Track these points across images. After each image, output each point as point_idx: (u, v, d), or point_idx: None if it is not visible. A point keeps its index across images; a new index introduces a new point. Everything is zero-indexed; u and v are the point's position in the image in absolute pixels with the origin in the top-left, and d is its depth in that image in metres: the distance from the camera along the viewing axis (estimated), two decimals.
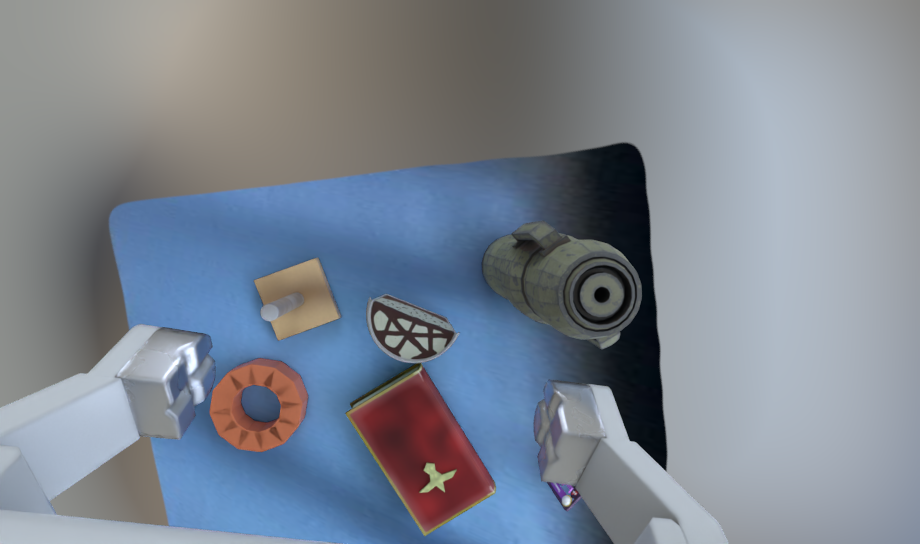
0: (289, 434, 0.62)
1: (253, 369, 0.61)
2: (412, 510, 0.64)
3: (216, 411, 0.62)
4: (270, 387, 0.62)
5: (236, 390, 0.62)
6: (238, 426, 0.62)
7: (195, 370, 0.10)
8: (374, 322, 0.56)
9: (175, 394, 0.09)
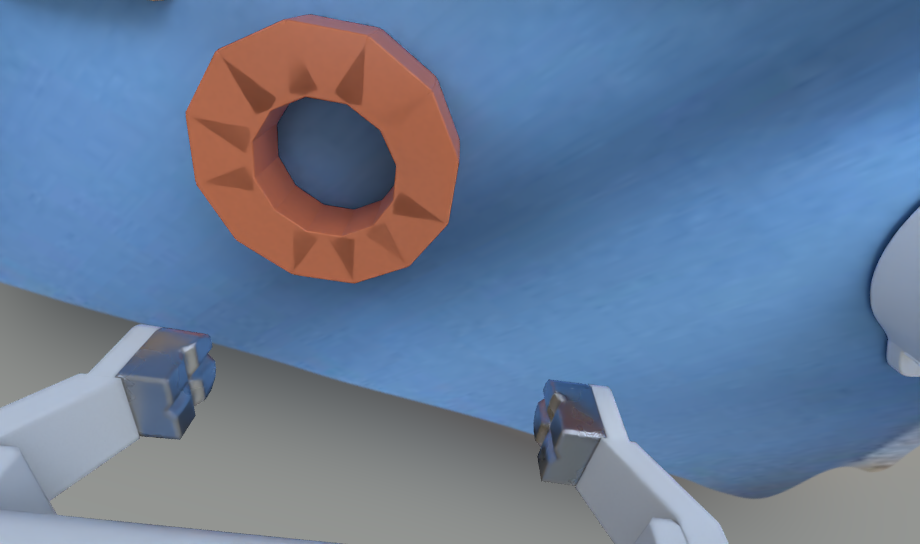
0: (442, 131, 0.20)
1: (204, 115, 0.20)
2: None
3: (294, 259, 0.23)
4: (276, 100, 0.19)
5: (254, 190, 0.21)
6: (353, 236, 0.23)
7: (194, 371, 0.10)
8: None
9: (175, 394, 0.09)
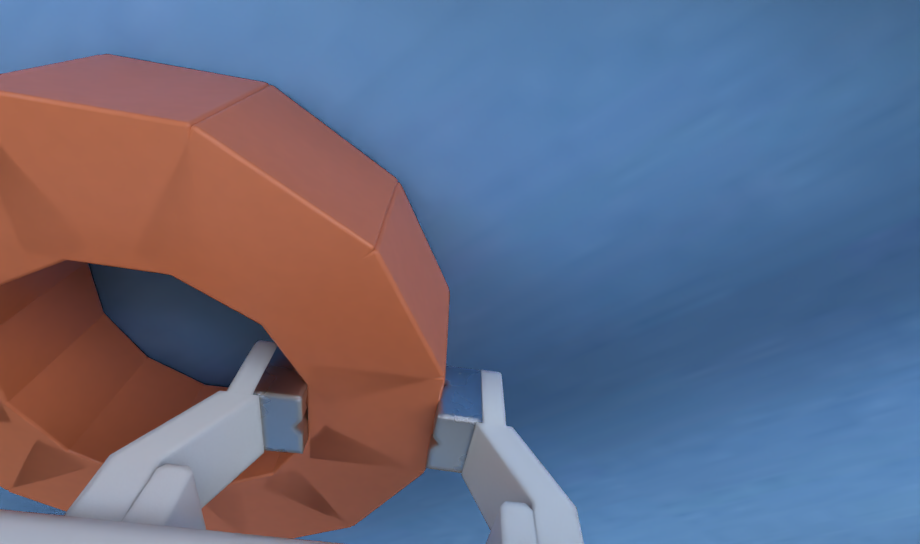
0: (404, 326, 0.09)
1: None
2: None
3: None
4: None
5: (11, 421, 0.10)
6: (238, 488, 0.11)
7: None
8: None
9: (304, 410, 0.09)
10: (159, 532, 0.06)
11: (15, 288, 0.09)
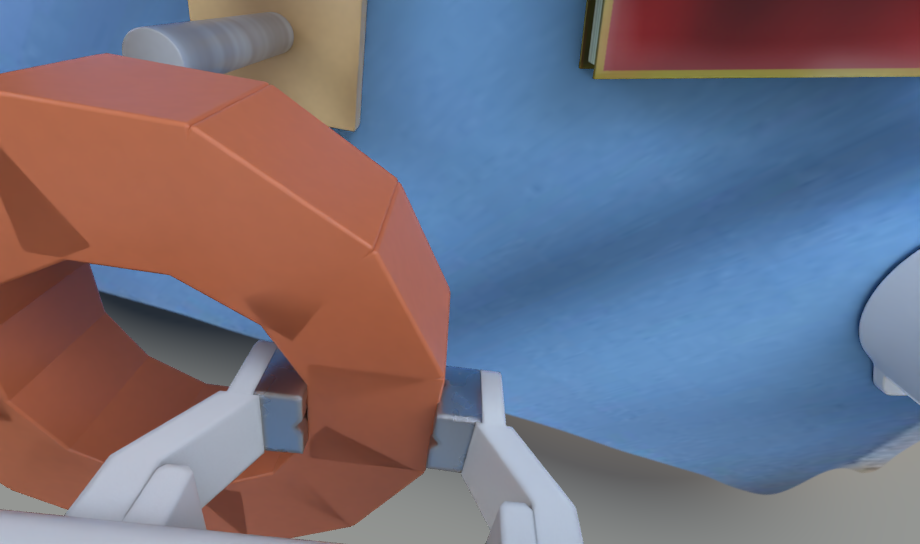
0: (403, 327, 0.08)
1: None
2: None
3: None
4: None
5: (13, 420, 0.10)
6: (238, 488, 0.11)
7: None
8: None
9: (304, 410, 0.09)
10: (159, 532, 0.06)
11: (16, 287, 0.09)
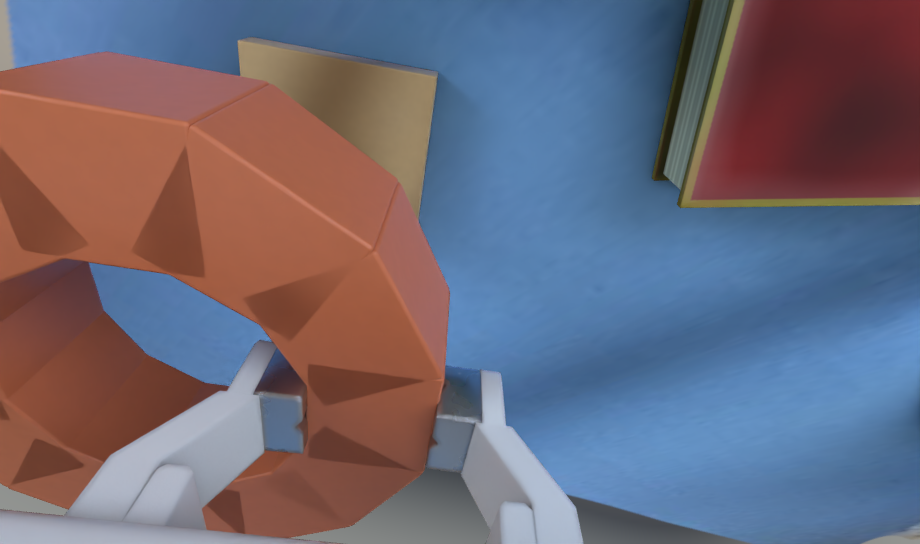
0: (403, 328, 0.08)
1: None
2: None
3: None
4: None
5: (11, 418, 0.10)
6: (236, 487, 0.11)
7: None
8: None
9: (304, 410, 0.09)
10: (159, 532, 0.06)
11: (14, 286, 0.09)
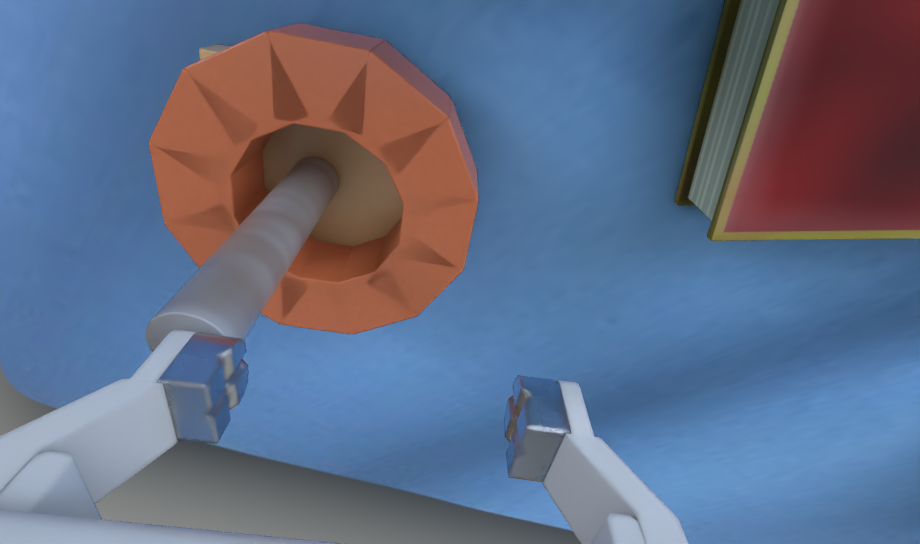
0: (459, 164, 0.16)
1: (171, 145, 0.16)
2: None
3: (283, 308, 0.20)
4: (258, 128, 0.16)
5: None
6: (352, 283, 0.19)
7: (231, 375, 0.10)
8: None
9: (214, 399, 0.09)
10: (159, 532, 0.06)
11: (251, 147, 0.17)
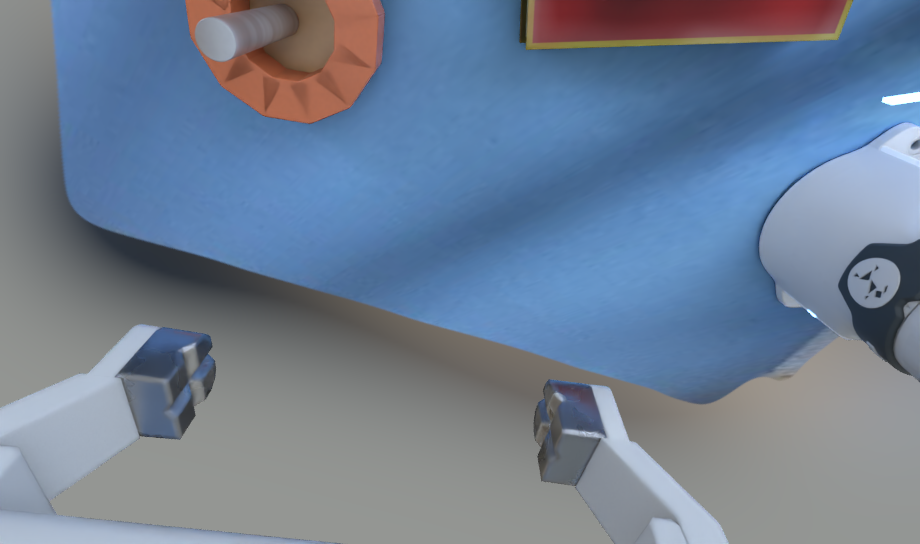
0: None
1: None
2: (778, 32, 0.30)
3: (265, 102, 0.32)
4: None
5: None
6: (307, 81, 0.31)
7: (194, 371, 0.10)
8: None
9: (175, 394, 0.09)
10: (159, 532, 0.06)
11: None
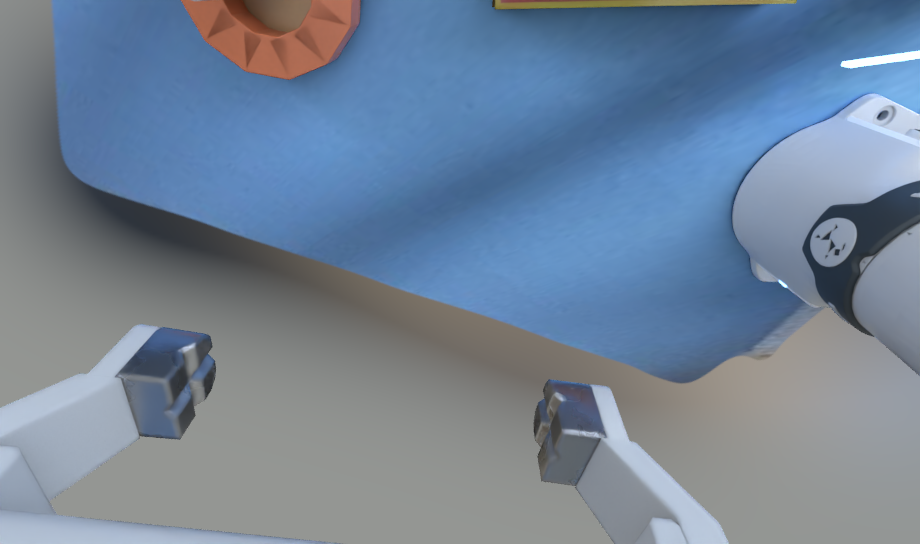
0: None
1: None
2: None
3: (246, 57, 0.33)
4: None
5: None
6: (286, 37, 0.33)
7: (195, 371, 0.10)
8: None
9: (175, 394, 0.09)
10: (159, 532, 0.06)
11: None
